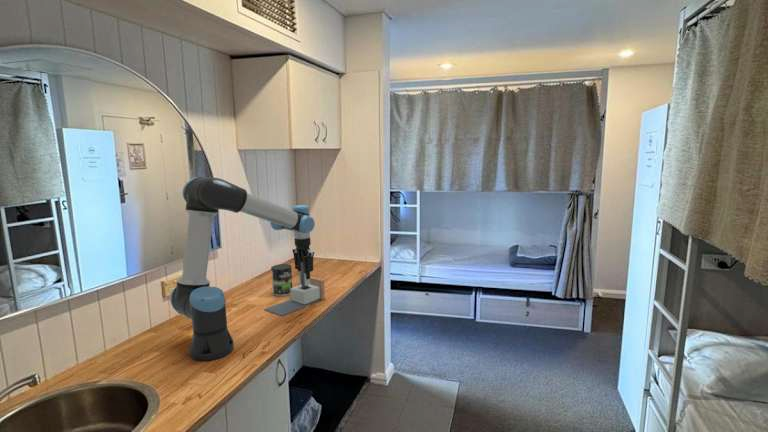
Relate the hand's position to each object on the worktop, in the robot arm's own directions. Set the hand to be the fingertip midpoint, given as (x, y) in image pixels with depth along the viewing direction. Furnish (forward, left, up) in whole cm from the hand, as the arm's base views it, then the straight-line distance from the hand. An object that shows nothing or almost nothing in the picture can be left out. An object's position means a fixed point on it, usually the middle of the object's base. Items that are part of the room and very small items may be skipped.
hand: (304, 284), depth 201 cm
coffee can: (+1, +19, -9) cm, 21 cm away
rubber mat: (-6, 0, -9) cm, 10 cm away
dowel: (0, 0, -3) cm, 3 cm away
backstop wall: (+6, 0, -9) cm, 11 cm away
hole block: (0, 0, -9) cm, 9 cm away
